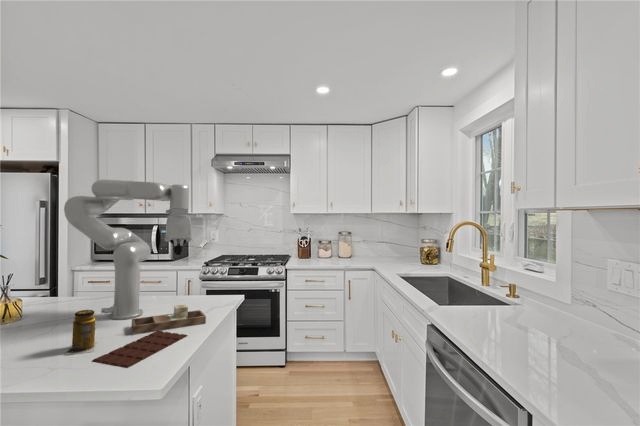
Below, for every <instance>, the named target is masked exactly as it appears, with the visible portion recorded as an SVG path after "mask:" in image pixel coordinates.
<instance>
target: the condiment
mask: <svg viewBox="0 0 640 426" xmlns="http://www.w3.org/2000/svg"><path fill="white" fill-rule="evenodd" d="M95 335H96V318H95V310H94V309H83V310H78V311H76V312H75V314H74V320H73V322H72V338H71V339H72V341H71V346H70V347H69V348H68V349H67V352H66V353H65V355H79V354H86V353H92V352H93V353H94V351H95V349H96V347H97V344H98V341H96V340H95V338H96V337H95Z"/></svg>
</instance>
